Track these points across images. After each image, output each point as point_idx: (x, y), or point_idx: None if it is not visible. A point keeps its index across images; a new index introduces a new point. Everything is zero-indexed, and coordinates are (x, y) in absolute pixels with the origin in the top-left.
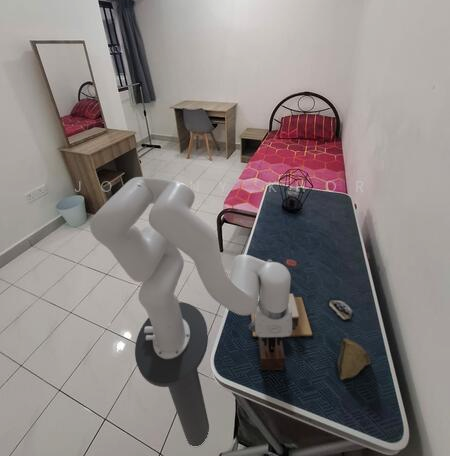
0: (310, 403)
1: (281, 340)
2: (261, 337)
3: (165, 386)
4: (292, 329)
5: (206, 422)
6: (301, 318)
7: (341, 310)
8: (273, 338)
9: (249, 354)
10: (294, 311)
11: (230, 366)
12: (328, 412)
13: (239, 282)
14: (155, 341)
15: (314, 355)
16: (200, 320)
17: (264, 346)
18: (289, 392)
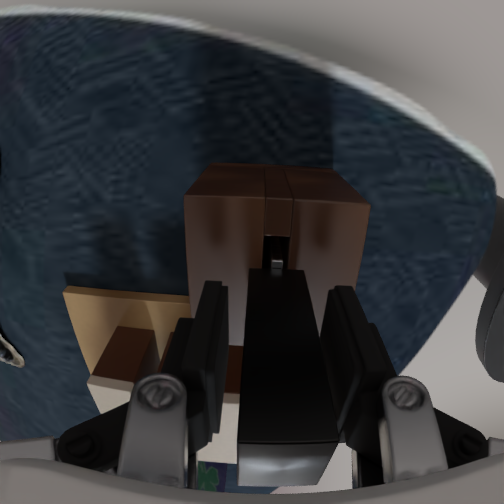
0: (117, 44)
1: (182, 322)
2: (424, 387)
3: None
4: (20, 452)
5: None
6: (100, 347)
7: None
8: (271, 367)
9: (372, 237)
10: (108, 402)
11: (458, 201)
12: (62, 32)
13: None
14: None
15: (64, 217)
16: (496, 347)
17: (325, 274)
18: (202, 73)
